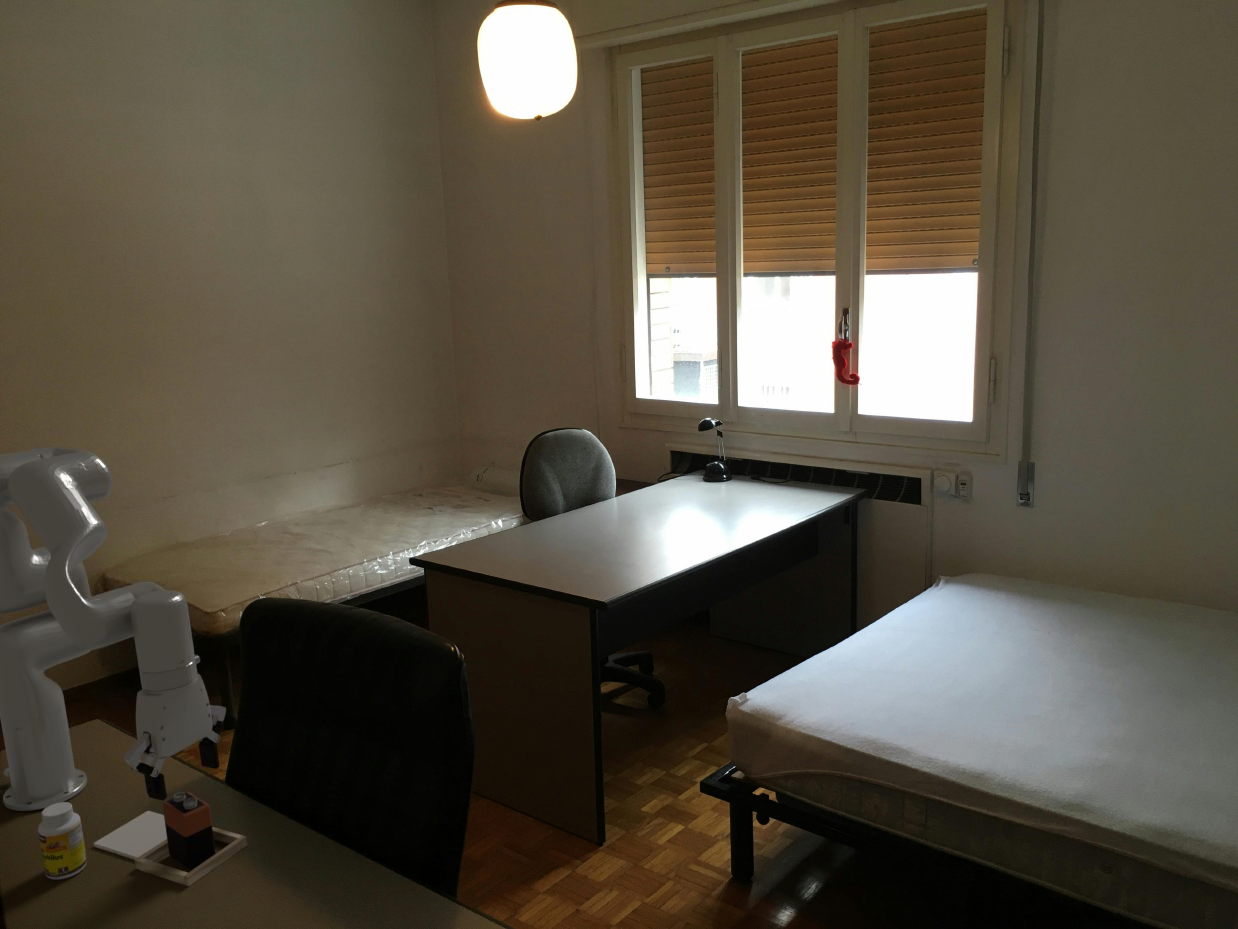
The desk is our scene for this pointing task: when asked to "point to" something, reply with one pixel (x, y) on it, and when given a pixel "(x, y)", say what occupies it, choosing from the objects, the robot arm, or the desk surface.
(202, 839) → the battery
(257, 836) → the desk surface
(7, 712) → the robot arm
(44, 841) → the supplement bottle
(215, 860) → the holder frame
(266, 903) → the desk surface
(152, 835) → the ceramic pad
